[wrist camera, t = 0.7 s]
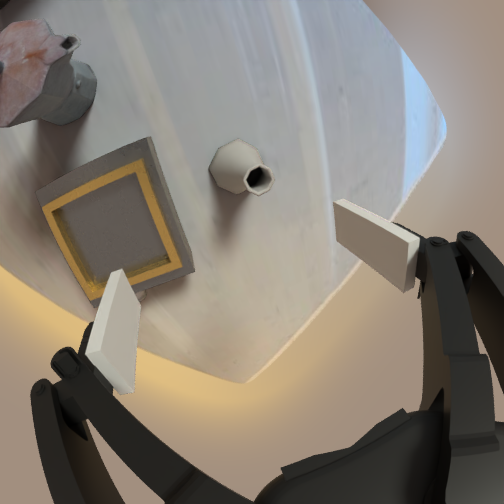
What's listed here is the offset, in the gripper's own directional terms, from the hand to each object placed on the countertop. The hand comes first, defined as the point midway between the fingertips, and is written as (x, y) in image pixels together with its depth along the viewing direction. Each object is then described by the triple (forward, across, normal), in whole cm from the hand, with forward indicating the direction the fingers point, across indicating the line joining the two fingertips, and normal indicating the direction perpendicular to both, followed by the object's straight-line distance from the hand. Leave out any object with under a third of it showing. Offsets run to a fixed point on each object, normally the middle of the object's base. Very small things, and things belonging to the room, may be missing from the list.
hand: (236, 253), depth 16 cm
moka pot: (+22, -14, +18) cm, 32 cm away
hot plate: (+22, -12, -2) cm, 25 cm away
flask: (+22, +5, +1) cm, 23 cm away
